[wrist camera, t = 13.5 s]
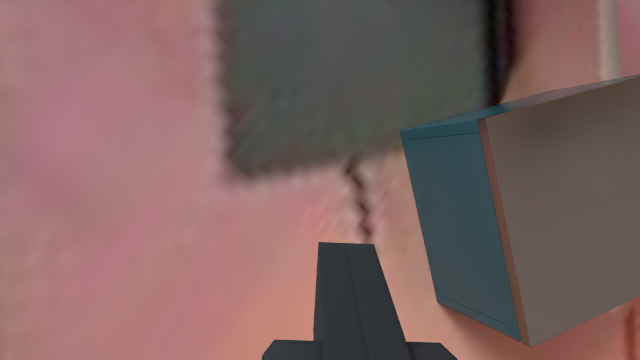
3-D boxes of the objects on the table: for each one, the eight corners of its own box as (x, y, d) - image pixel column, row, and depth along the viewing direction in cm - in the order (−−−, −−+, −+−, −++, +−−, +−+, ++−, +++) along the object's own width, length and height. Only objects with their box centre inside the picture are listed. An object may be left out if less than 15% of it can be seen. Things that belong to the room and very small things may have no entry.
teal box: (549, 91, 40) (655, 71, 31) (577, 245, 41) (685, 265, 33) (399, 130, 35) (475, 119, 27) (437, 302, 37) (520, 342, 28)
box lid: (664, 68, 32) (677, 66, 31) (693, 262, 33) (706, 264, 32) (476, 119, 27) (485, 117, 26) (521, 343, 28) (531, 347, 27)
